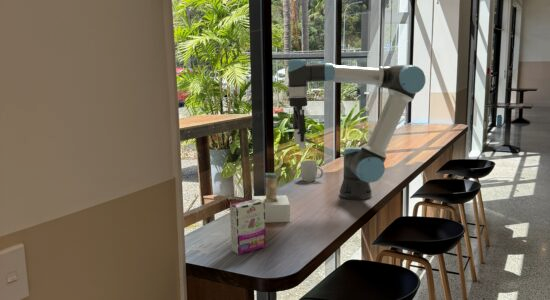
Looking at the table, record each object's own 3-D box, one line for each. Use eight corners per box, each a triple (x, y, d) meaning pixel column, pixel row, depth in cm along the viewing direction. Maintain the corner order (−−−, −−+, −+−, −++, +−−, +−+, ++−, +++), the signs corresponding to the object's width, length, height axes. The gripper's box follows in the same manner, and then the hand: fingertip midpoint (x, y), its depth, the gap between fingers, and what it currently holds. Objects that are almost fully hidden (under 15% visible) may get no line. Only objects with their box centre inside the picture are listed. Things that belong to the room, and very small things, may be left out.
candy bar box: (257, 243, 171) (257, 198, 168) (266, 247, 167) (265, 201, 164) (230, 250, 164) (229, 203, 162) (238, 255, 160) (237, 207, 158)
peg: (275, 215, 203) (275, 172, 200) (276, 218, 199) (276, 175, 196) (265, 215, 203) (265, 173, 200) (266, 218, 199) (266, 175, 196)
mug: (297, 181, 261) (297, 163, 260) (304, 177, 269) (304, 160, 268) (320, 183, 256) (320, 165, 254) (326, 180, 264) (326, 162, 262)
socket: (286, 211, 208) (286, 195, 207) (289, 221, 194) (289, 204, 193) (253, 212, 207) (253, 196, 206) (254, 222, 193) (254, 205, 192)
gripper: (285, 95, 217) (287, 142, 221) (293, 99, 193) (295, 152, 197) (302, 94, 218) (303, 141, 222) (312, 98, 194) (313, 151, 197)
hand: (299, 146), depth 209 cm, fingers open, 13 cm apart
